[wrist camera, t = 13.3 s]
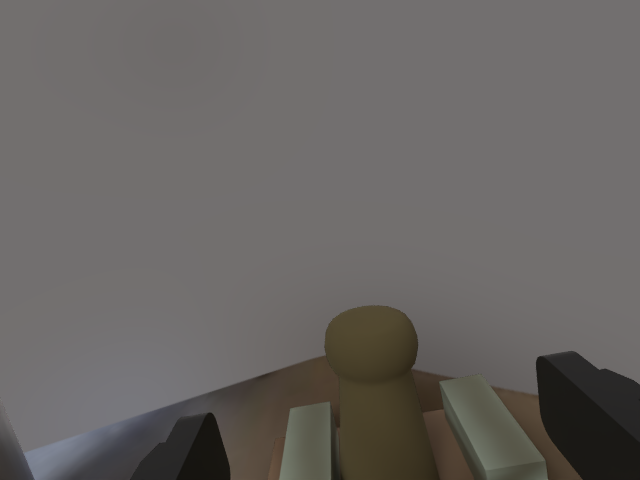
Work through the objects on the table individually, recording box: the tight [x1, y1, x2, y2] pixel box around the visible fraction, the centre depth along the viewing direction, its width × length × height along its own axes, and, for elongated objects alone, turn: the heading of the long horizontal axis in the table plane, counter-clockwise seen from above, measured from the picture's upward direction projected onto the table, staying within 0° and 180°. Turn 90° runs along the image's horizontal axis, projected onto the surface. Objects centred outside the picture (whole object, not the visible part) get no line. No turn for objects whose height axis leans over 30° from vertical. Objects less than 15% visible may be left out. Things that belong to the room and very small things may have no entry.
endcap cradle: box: [267, 374, 548, 480], centre depth 23 cm, size 16×10×4 cm, turn 89°
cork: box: [325, 306, 440, 480], centre depth 22 cm, size 6×6×11 cm
